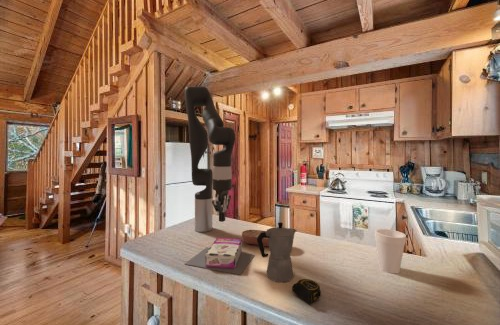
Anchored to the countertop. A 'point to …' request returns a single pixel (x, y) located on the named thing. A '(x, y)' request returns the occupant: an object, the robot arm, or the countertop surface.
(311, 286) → the tape measure
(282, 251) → the coffeepot
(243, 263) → the mat
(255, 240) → the anatomical model
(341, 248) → the countertop surface
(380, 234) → the foam cup
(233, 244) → the candy bar box
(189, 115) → the robot arm
